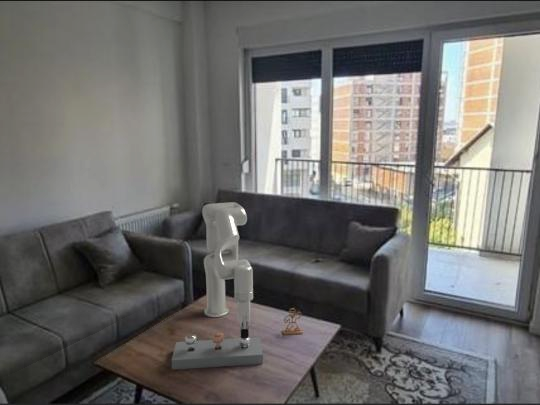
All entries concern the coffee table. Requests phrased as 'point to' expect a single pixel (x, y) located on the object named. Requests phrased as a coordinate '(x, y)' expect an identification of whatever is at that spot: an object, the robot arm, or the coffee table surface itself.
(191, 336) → the knob
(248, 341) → the knob
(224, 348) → the knob panel
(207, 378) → the coffee table surface
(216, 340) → the knob middle
